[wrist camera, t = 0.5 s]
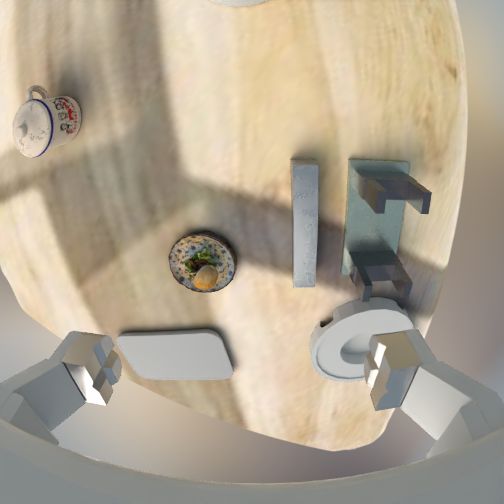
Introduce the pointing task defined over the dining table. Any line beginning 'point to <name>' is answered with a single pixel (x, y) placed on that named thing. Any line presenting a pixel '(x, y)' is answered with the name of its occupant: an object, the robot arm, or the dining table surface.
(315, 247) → the rail
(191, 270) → the burger
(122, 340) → the tablet
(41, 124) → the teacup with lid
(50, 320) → the dining table surface
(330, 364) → the ashtray
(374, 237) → the bracket stand
